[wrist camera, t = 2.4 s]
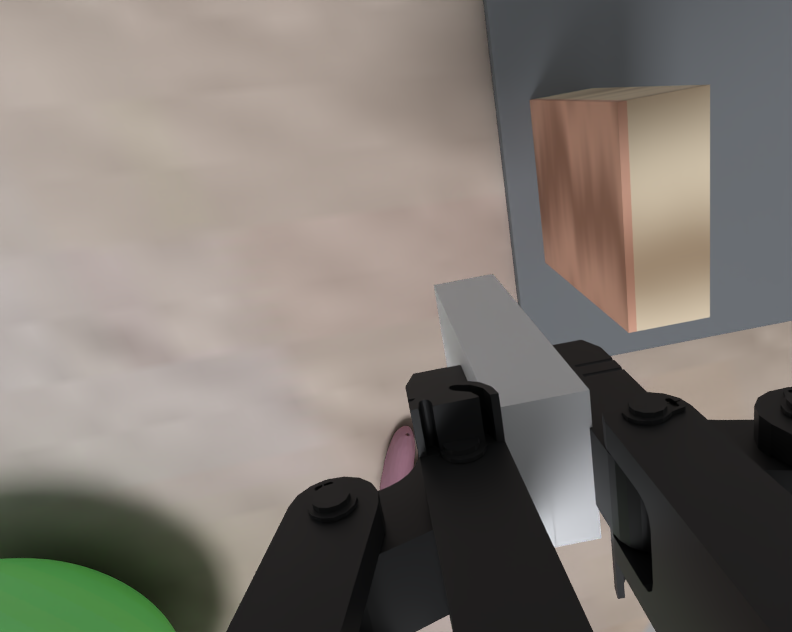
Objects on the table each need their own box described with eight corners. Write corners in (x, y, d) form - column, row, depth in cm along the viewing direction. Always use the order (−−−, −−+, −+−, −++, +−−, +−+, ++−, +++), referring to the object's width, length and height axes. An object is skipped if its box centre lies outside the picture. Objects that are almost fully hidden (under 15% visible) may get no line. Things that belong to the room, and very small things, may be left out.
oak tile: (529, 100, 29) (617, 102, 19) (592, 88, 29) (710, 84, 19) (545, 262, 32) (628, 332, 22) (602, 251, 32) (709, 317, 22)
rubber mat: (479, -35, 27) (481, -38, 27) (851, -105, 27) (862, -109, 27) (525, 367, 34) (528, 371, 34) (823, 309, 34) (831, 312, 34)
